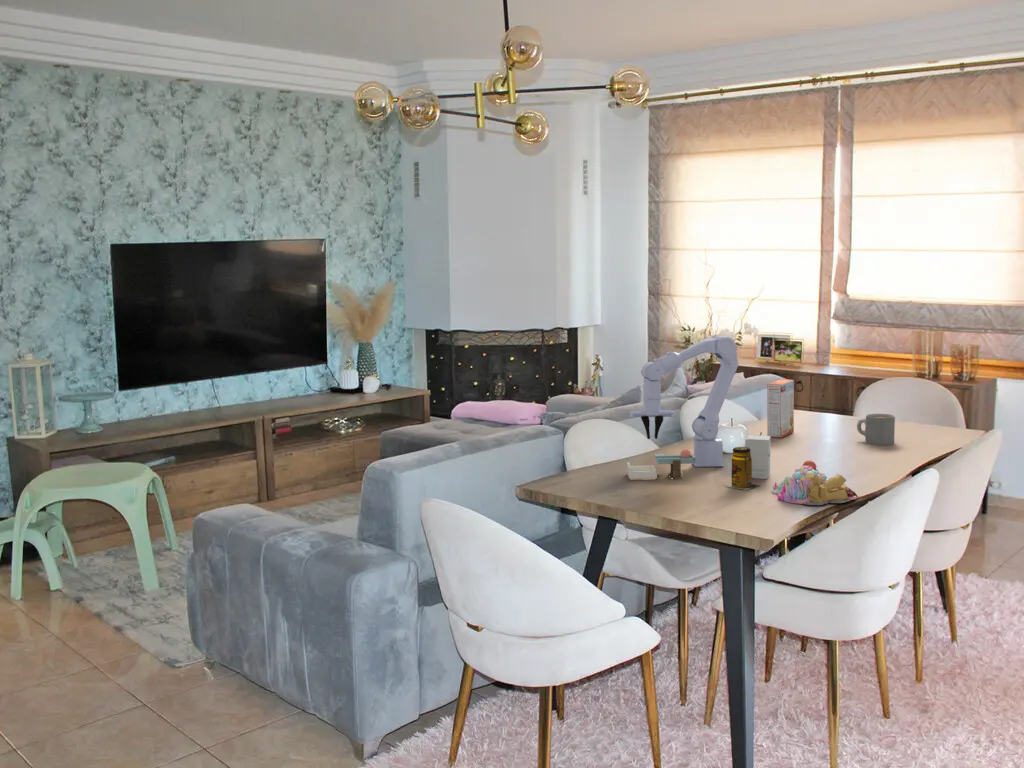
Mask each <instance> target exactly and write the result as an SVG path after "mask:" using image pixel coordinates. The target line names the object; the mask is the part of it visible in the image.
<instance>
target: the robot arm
mask: <svg viewBox="0 0 1024 768" xmlns="http://www.w3.org/2000/svg"><path fill="white" fill-rule="evenodd" d="M737 351H738V346H737V344H736V343H735V341H734V339H733V338H732V337H729V336H724V335H722V334H714V335H712V336H709V337H706V338H704V339H702V340H700V341H698V342H697V343H695V344H693V345H691V346H690V347H688V348H685V349H684V350H681V351H680V352H676V351H667V352H665V353H666V354H665V355H663V356H661V357H658V358H654V359H653V361H648V362H645V363H644V364H643V366H642V367H641V370H640V374H641V376H642V378H643V385H642V386H643V387H642V389H643V391H642V392H643V399H642V402H643V409H642V410H631V411H629V417H630V418H631V419H634V418H640V419H641V422H642V423H643V427H644V428H645V433H646V439H647V440H650V439H651V434H650V425H651V424H650V421H651V420H650V418H654V439H655V440H657V439H658V435H659V432H660V428H661V426H662V424H663V422H664V418H665V417H666V418H668V417H669V418H670V417H671V418H675V410H671V409H670V410H669V409H667V410H666V409H665V410H664V409H662V407H661V406H662V405H661V403H662V402H661V400H662V398H661V397H662V396H661V394H662V393H661V391H662V389H661V386H662V385H661V378H662V377H663V376H666V375H667V374H668V373H671V372H673V371H675V370H677V369H679V368H681V367H682V366H683V365H682V364H683V362H686V361H688V360H691V359H693V358H696V357H698V356H699V355H703V354H705V353H706V354H707V353H708V354H713V355H714V356H716V358H717V360H718V362H719V364H720V366H719V370H718V372H717V375H716V377H715V379H714V381H713V384H712V387H711V390H710V391H709V395H708V397H707V400H706V402H705V404H704V407H703V409H701V410H700V412H699V414H698V415H697V417H696V418H695V419H693V421H692V424H691V428H692V432H693V433H694V434H695V435H694V436H693V455H694V456H695V457H696V464H692V465H693V466H694V467H695V468H697V467H699V468H700V467H703V468H705V467H723V466H724V464H723V462H724V458H723V457H724V456H723V455H724V454H723V453H724V451H723V450H724V447H723V446H724V445H723V440H722V438H717V435H718V434H719V423H720V416H719V415H720V413H721V409H722V407H723V405H724V402H725V399H726V397H727V395H728V392H729V389H730V386H731V385H732V382H733V379H734V377H735V374H736V372H737V369H738V366H739V361H738V352H737Z"/></svg>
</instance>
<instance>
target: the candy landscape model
mask: <svg viewBox="0 0 1024 768" xmlns="http://www.w3.org/2000/svg"><path fill="white" fill-rule="evenodd" d="M794 470H795V472H794V473H792V475H791V476H785V477H784V479H783V480H782V481H781V482H780V483H779V484H777V482H776V481H774V484H773V487H772V489H771V493H772V494H774V495H777V500H779V501H782V502H783V501H784V502H785V503H786V504H787V503H789V504H790V503H791V504H801V505H808V506H822V505H828V504H843V503H847V502H850V501H852V500H857V498H858V497H859V496H858V494H857V493H856V492H855V491H854V490H852V489H851V488H850V487H849V486H847V485H846V482H847V479H846V478H845V477H843V476H842V475H841V474H839V473H837V474H836V475H834V476H832V477H829V478H828V476H827V475H826V474H825V472H819V470H818V469H817V464H816V463H815V461H813V460H806V461H804V462H803V463H802V466H800V467H798V468H795V469H794Z"/></svg>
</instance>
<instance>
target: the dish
mask: <svg viewBox="0 0 1024 768" xmlns="http://www.w3.org/2000/svg"><path fill="white" fill-rule="evenodd" d="M627 473H628V475H627V477H628V476H629V478H658V476H657V473H658V472H657V468H656V467H655V465H631V463H630V462H628V461H627V462H626V474H627ZM629 478H628V479H629Z"/></svg>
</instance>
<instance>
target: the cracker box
mask: <svg viewBox="0 0 1024 768" xmlns="http://www.w3.org/2000/svg"><path fill="white" fill-rule="evenodd" d="M794 384H795V380H794V379H786V378H784V379H777V380H775V381H773V382H769V383H767V384H766V389H767V390H766V393H767V394H766V397H767V399H766V401H767V403H766V405H767V406H766V407H767V408H766V410H767V411H766V413H767V415H766V418H767V421H766V422H767V427H766V429H767V435H766V436H771V438H775V439H776V438H778V439H782V438H783V437H786V436H788V435H790V434H793V433H794V430H795V429H794V428H795V425H794V424H795V421H794V419H795V417H794V416H795V415H794V414H795V412H794V411H795V407H794V406H795V405H794V403H795V397H794V395H795V390H794V389H795V385H794Z"/></svg>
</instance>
